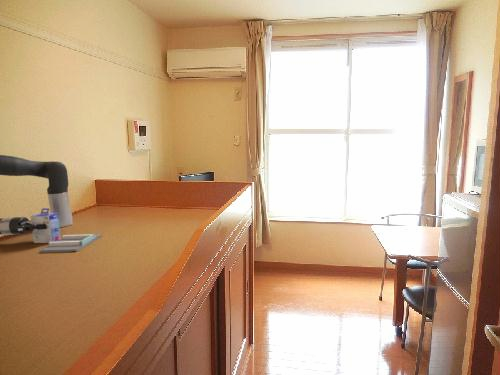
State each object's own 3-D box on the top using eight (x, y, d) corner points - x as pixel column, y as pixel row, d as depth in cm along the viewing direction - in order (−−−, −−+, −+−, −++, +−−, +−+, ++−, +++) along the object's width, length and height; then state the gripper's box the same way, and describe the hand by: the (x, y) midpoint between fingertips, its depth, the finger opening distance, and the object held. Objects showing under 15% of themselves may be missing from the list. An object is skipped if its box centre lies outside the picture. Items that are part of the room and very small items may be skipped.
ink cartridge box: (62, 239, 155) (57, 207, 152) (53, 243, 149) (48, 210, 147) (43, 239, 157) (38, 207, 154) (33, 243, 151) (28, 210, 149)
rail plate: (69, 237, 157) (69, 232, 157) (101, 236, 156) (101, 231, 156) (40, 252, 138) (39, 246, 137) (76, 251, 137) (76, 245, 136)
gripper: (0, 221, 145) (38, 220, 144) (24, 213, 160) (59, 212, 158) (3, 239, 147) (41, 237, 145) (27, 229, 161) (62, 228, 159)
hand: (50, 224), depth 152 cm, fingers closed on ink cartridge box, 6 cm apart
